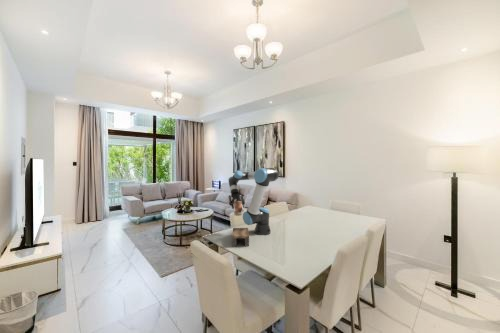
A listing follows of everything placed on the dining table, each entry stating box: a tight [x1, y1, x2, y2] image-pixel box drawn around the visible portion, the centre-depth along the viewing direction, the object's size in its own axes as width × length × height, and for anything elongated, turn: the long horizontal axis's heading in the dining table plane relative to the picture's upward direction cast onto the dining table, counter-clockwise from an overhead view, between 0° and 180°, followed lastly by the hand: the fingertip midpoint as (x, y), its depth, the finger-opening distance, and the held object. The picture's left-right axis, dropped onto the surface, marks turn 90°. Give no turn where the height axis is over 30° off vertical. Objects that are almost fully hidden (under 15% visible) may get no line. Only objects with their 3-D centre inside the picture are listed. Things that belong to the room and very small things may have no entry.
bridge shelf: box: [232, 227, 250, 247], centre depth 182 cm, size 13×20×8 cm, turn 3°
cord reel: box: [233, 200, 243, 217], centre depth 200 cm, size 7×7×12 cm
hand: (238, 211), depth 197 cm, fingers closed on cord reel, 7 cm apart
